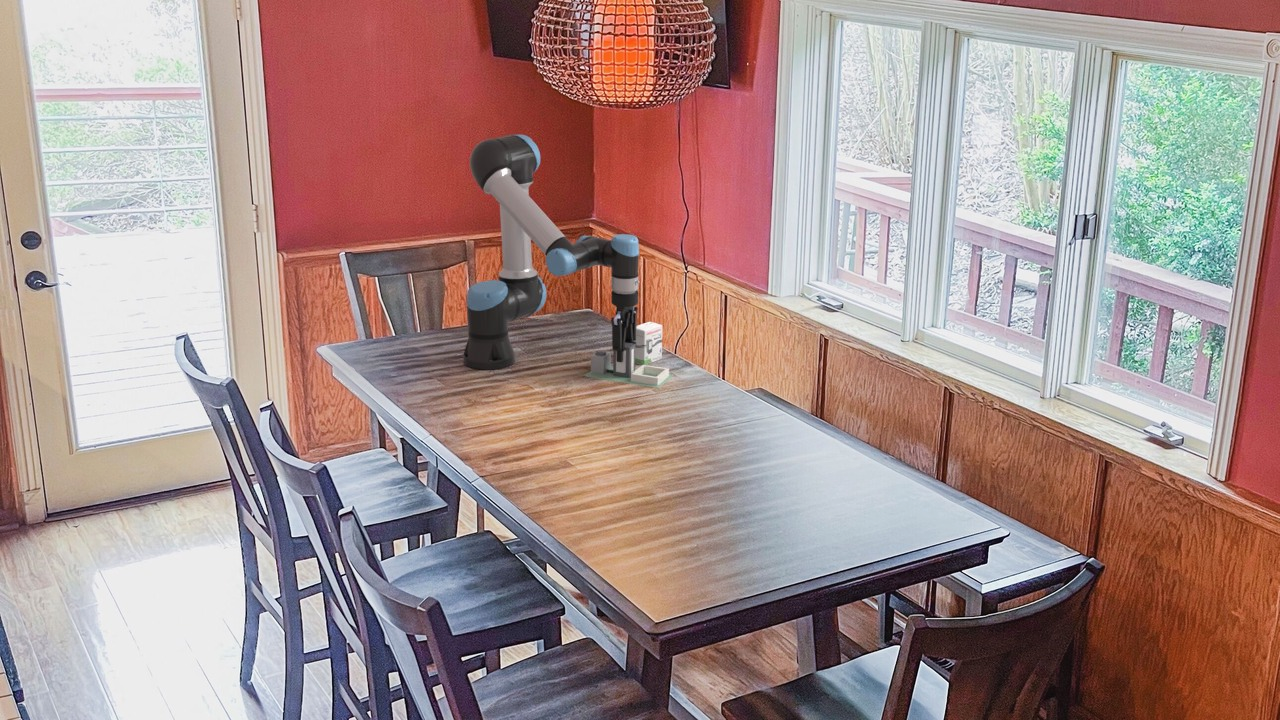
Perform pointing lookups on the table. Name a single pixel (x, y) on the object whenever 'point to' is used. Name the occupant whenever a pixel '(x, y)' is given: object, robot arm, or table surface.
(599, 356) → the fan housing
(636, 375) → the white square frame
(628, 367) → the plug
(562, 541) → the table surface
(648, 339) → the ink box
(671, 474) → the table surface
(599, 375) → the board
